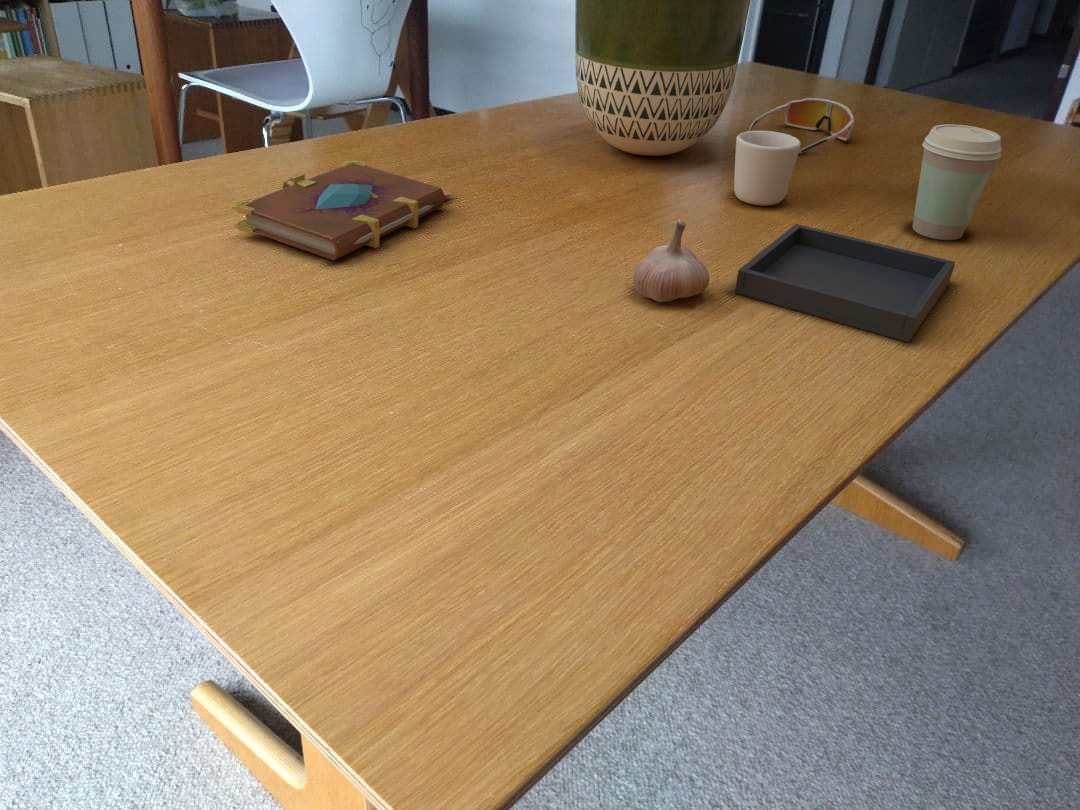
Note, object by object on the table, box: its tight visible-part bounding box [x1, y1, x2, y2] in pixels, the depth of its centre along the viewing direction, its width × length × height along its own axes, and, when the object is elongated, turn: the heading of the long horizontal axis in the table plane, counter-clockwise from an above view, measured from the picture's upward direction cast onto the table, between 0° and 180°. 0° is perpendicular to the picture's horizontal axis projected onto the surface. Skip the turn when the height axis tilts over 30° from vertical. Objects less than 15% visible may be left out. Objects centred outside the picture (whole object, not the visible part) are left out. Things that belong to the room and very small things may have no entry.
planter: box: [574, 0, 752, 157], centre depth 125 cm, size 24×24×27 cm
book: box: [231, 159, 453, 261], centre depth 104 cm, size 16×25×5 cm, turn 151°
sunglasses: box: [748, 97, 855, 155], centre depth 140 cm, size 14×15×5 cm
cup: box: [733, 130, 802, 207], centre depth 114 cm, size 11×8×8 cm
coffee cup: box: [911, 123, 1003, 241], centre depth 104 cm, size 8×8×12 cm
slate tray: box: [734, 223, 956, 343], centre depth 91 cm, size 18×17×3 cm
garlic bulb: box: [632, 219, 710, 303], centre depth 87 cm, size 8×7×8 cm
